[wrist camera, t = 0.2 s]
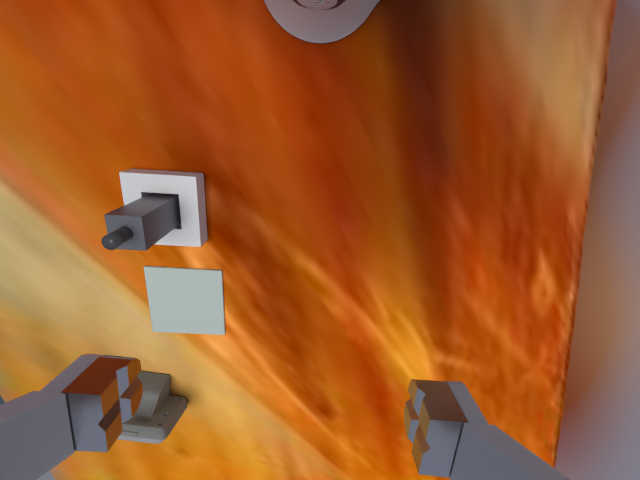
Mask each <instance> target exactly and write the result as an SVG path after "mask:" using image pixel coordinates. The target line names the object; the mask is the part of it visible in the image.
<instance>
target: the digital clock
mask: <svg viewBox="0 0 640 480" xmlns="http://www.w3.org/2000/svg"><path fill="white" fill-rule="evenodd" d="M137 377H138V379H139V380H140V381H141V382H142V386H143V392H142V399H141V402H140V404H139V407H138V409H137V411H136V412H135V414H134V415H133V417H132V418H131V419H129V420H127V421H126V422H124V423H122V430H123V431H122V432H121V434H120V435H119V437H118V438H117V439H120V440H129V441H137V442H146V443H161V442H162V441H163V440H165V439H166V438H167V436H168V435H169V434H170V432H171V431H172V429H173V428H174V426H175V425H176V423H177V422H178V420H179V418H180V417H181V415H182V414H183V412H184V411H185V409H186V408H187V401H186V399H185V398H184V397H180V396H173V395H170V375H168V374H160V373H153V372H145V371H140V373H139V374H138V375H137Z"/></svg>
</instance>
